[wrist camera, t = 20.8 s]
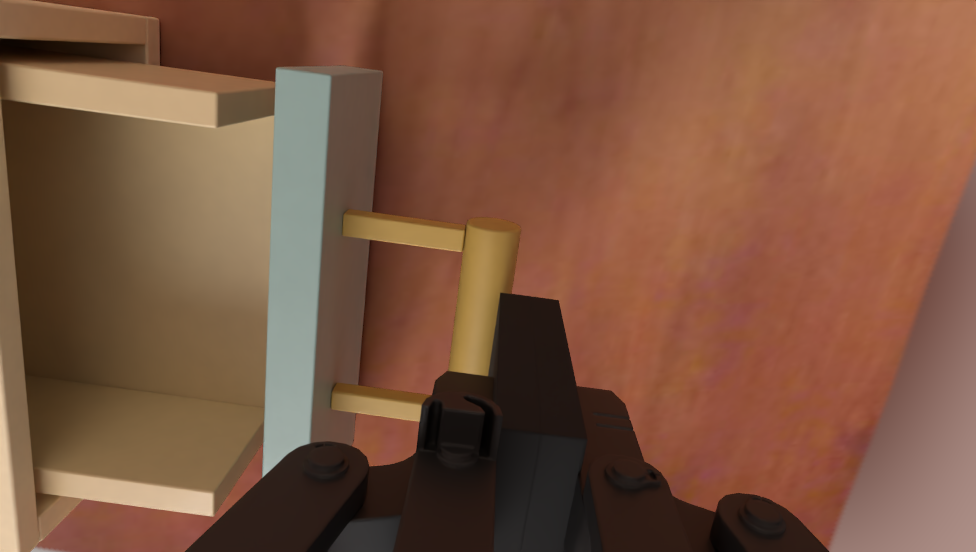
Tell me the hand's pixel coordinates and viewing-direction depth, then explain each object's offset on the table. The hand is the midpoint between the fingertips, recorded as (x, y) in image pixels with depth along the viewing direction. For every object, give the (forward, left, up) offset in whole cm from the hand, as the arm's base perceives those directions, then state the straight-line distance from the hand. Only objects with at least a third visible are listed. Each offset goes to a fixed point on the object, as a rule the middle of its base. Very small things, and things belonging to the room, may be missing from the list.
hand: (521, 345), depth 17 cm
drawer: (+7, +7, -5) cm, 11 cm away
